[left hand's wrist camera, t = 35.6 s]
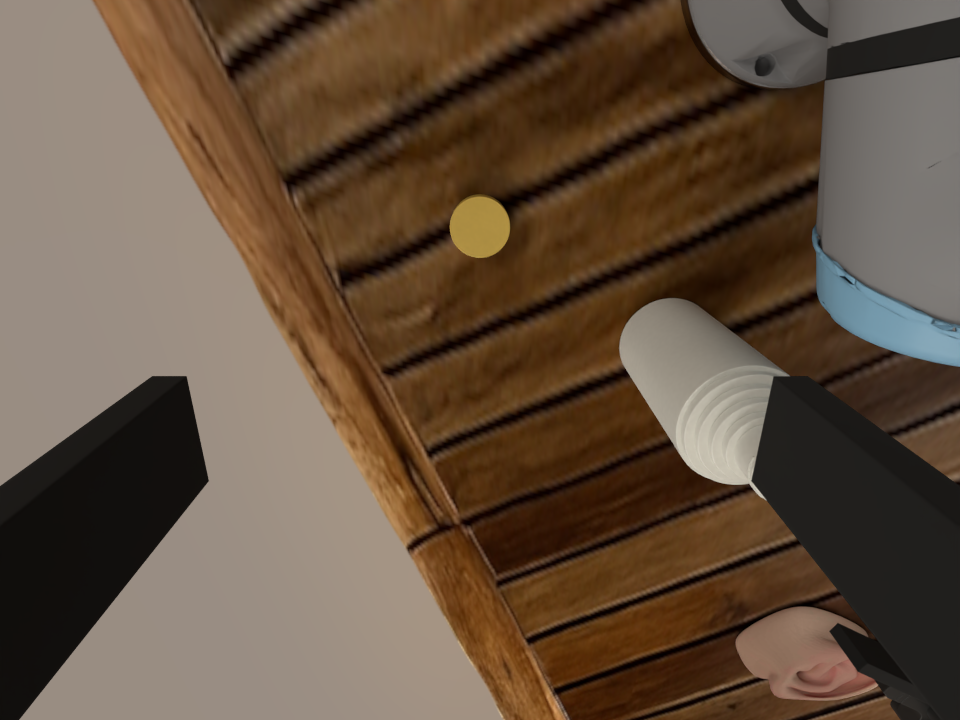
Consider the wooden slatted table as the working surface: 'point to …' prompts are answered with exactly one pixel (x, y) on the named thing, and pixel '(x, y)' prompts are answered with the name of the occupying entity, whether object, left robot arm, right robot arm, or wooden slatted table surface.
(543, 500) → the wooden slatted table surface
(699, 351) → the bottle
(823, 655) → the anatomical model
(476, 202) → the cap
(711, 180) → the wooden slatted table surface
